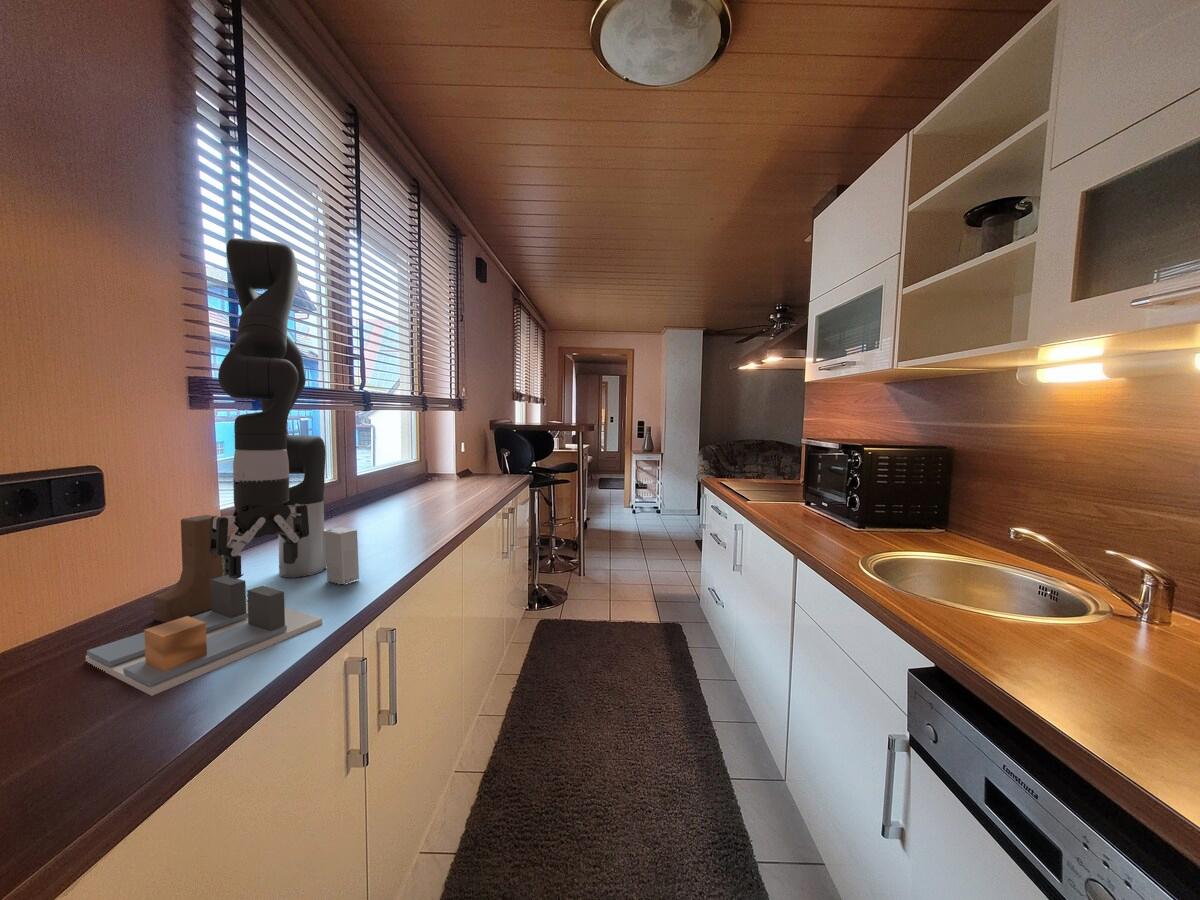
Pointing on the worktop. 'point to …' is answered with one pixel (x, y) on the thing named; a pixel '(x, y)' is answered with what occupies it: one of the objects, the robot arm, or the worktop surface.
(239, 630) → the strip with cube
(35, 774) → the worktop surface
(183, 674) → the lane board
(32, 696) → the worktop surface
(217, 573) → the wooden block
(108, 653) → the strip empty
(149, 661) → the cube
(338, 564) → the skincare box
